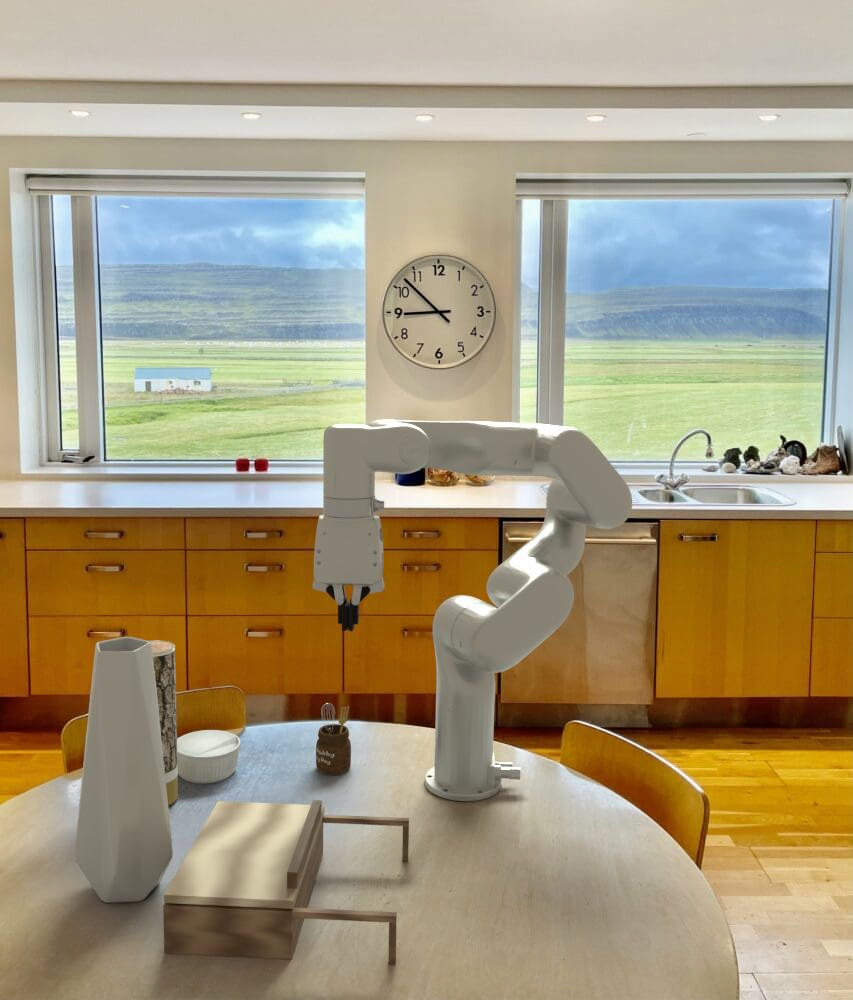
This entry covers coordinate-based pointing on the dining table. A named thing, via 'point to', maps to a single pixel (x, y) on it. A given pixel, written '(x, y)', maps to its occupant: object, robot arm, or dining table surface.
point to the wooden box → (268, 914)
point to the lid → (248, 856)
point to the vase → (123, 777)
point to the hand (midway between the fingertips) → (348, 628)
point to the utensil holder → (333, 746)
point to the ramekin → (207, 755)
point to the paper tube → (167, 711)
